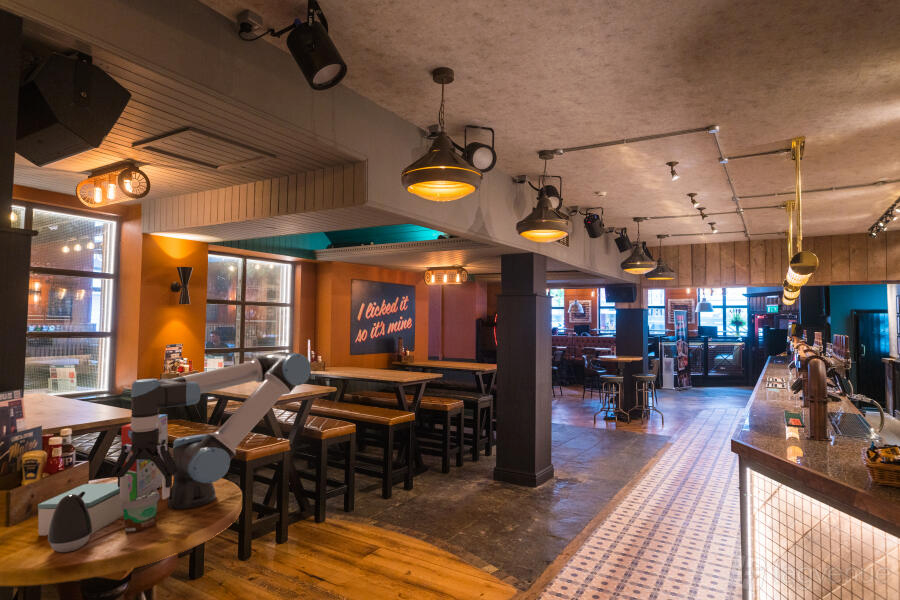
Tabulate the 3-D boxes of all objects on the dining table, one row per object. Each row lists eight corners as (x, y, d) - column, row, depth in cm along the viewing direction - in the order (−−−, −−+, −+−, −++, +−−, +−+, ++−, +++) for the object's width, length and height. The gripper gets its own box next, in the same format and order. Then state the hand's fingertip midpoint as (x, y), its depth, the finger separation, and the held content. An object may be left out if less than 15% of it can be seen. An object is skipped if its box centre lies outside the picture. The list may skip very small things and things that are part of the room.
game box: (155, 483, 203) (154, 414, 203) (169, 483, 203) (168, 414, 203) (121, 503, 182) (120, 426, 182) (136, 502, 182) (136, 425, 182)
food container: (138, 537, 153) (138, 503, 153) (121, 535, 154) (121, 502, 155) (169, 520, 165) (169, 489, 166) (152, 519, 167) (152, 488, 167)
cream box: (129, 512, 173) (129, 488, 173) (88, 535, 155) (88, 509, 155) (84, 512, 174) (84, 488, 174) (38, 535, 156) (38, 508, 156)
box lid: (130, 486, 173) (130, 482, 173) (89, 506, 155) (89, 502, 155) (84, 487, 174) (84, 484, 174) (37, 508, 156) (37, 504, 156)
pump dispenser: (101, 539, 152) (100, 488, 152) (74, 556, 141) (73, 501, 142) (67, 539, 152) (67, 488, 153) (38, 556, 142) (38, 501, 142)
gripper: (190, 426, 163) (190, 493, 163) (115, 426, 165) (115, 492, 164) (176, 431, 156) (176, 502, 155) (98, 431, 158) (97, 501, 157)
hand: (144, 497), depth 160 cm, fingers open, 13 cm apart
